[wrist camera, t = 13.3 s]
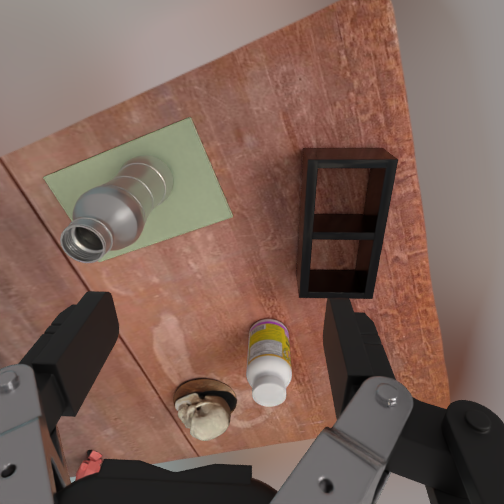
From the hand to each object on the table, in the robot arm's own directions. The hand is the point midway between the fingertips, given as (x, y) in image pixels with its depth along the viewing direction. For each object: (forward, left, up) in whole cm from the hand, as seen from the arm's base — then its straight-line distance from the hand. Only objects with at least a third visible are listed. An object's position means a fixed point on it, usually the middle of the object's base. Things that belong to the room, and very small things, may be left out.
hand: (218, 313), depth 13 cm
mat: (+8, -16, -36) cm, 40 cm away
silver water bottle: (+5, -13, -35) cm, 38 cm away
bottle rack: (+11, +11, -36) cm, 39 cm away
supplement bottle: (+32, +2, -36) cm, 48 cm away
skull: (+49, -10, -36) cm, 62 cm away
